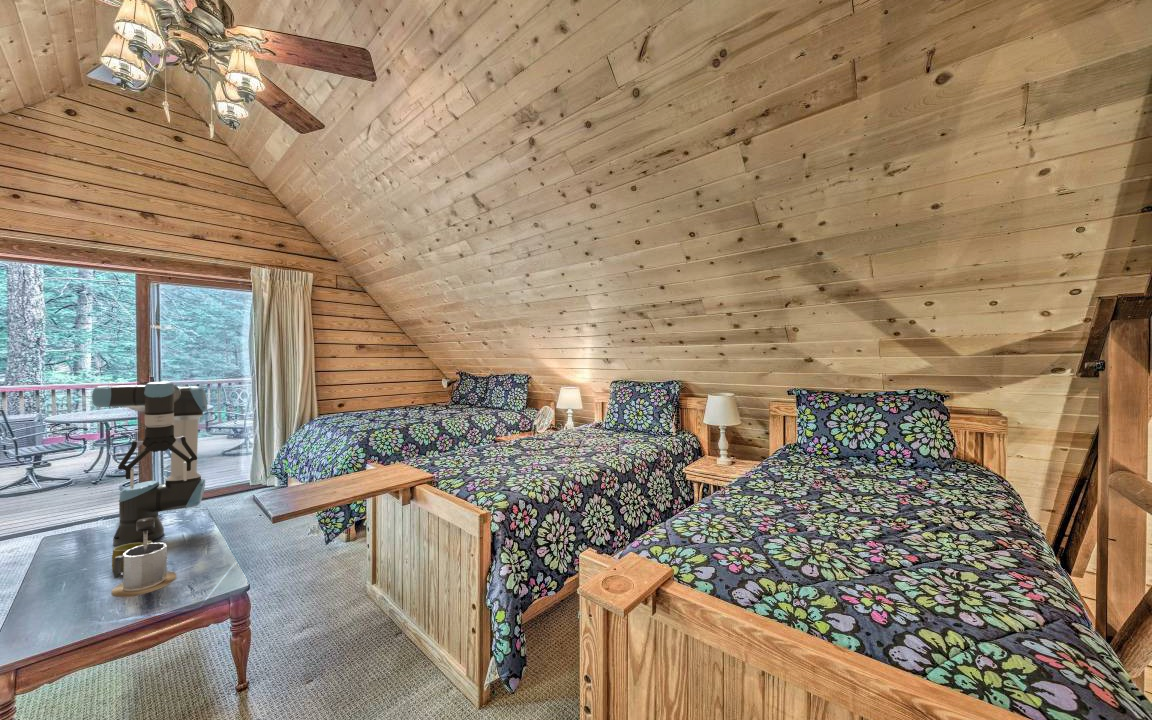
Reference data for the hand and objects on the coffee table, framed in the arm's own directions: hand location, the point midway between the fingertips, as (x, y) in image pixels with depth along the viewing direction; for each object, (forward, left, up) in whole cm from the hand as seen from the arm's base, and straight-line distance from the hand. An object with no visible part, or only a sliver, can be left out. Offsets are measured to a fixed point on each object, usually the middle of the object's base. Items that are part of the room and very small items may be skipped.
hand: (159, 483), depth 153 cm
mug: (-12, -12, -34) cm, 38 cm away
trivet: (+6, -1, -34) cm, 34 cm away
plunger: (+6, -1, -30) cm, 31 cm away
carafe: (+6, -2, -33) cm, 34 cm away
